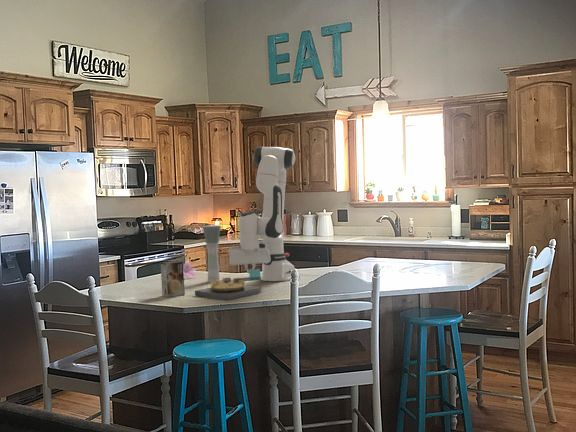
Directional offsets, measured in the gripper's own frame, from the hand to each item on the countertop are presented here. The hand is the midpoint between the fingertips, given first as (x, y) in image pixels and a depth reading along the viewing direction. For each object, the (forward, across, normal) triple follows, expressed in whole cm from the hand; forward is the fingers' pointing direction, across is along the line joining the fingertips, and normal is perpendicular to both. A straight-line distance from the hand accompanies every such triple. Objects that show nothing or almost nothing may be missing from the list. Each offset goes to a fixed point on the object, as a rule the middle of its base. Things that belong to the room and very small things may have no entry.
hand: (250, 273), depth 319 cm
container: (+8, -15, +35) cm, 39 cm away
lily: (+8, -29, +53) cm, 61 cm away
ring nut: (+5, -8, -7) cm, 12 cm away
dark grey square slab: (+8, -12, -8) cm, 17 cm away
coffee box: (+8, -38, 0) cm, 39 cm away
